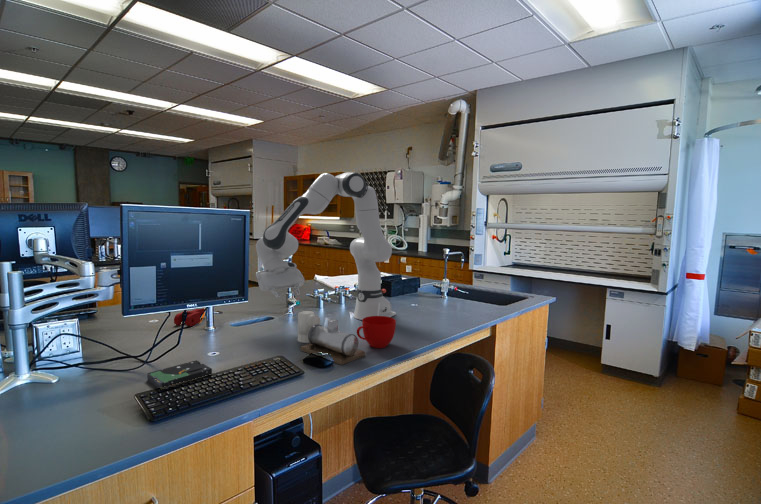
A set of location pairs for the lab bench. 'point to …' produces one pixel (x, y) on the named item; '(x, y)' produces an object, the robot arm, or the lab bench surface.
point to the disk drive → (178, 374)
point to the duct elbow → (306, 324)
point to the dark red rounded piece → (189, 317)
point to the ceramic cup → (378, 330)
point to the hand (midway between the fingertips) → (288, 295)
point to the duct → (333, 343)
